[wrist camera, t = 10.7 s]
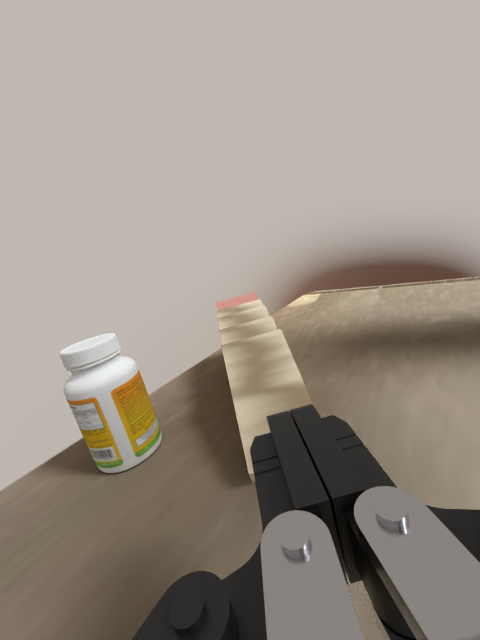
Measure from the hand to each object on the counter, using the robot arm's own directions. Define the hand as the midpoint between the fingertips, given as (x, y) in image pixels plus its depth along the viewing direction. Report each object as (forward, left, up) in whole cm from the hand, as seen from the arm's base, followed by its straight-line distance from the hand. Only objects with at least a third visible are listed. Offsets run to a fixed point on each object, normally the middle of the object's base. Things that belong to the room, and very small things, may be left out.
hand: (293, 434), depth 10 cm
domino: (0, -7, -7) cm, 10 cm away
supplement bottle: (+12, -14, -8) cm, 20 cm away
